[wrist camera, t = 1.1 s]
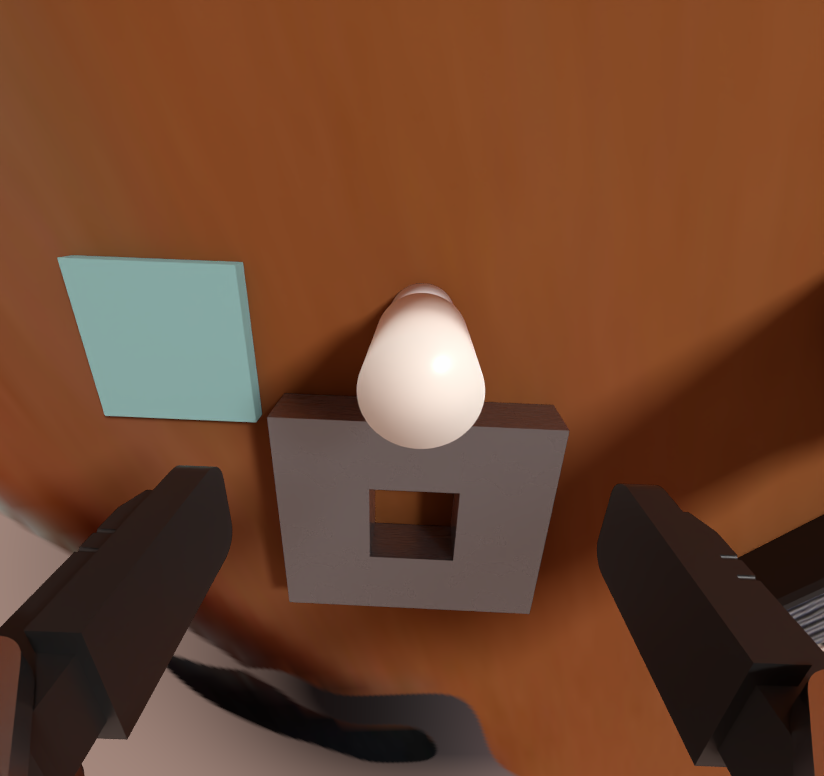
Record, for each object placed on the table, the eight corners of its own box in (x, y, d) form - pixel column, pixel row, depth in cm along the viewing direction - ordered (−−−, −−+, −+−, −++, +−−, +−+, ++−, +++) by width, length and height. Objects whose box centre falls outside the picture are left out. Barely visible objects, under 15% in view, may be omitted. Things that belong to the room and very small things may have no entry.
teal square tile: (242, 262, 22) (235, 264, 21) (262, 414, 26) (256, 422, 25) (72, 255, 22) (57, 257, 21) (116, 408, 26) (104, 415, 25)
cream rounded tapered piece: (464, 278, 22) (492, 335, 13) (457, 354, 24) (478, 451, 15) (384, 275, 22) (355, 329, 13) (383, 351, 24) (357, 446, 15)
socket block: (553, 405, 25) (569, 430, 22) (520, 576, 31) (529, 613, 28) (284, 393, 25) (267, 417, 22) (301, 566, 31) (289, 601, 28)
